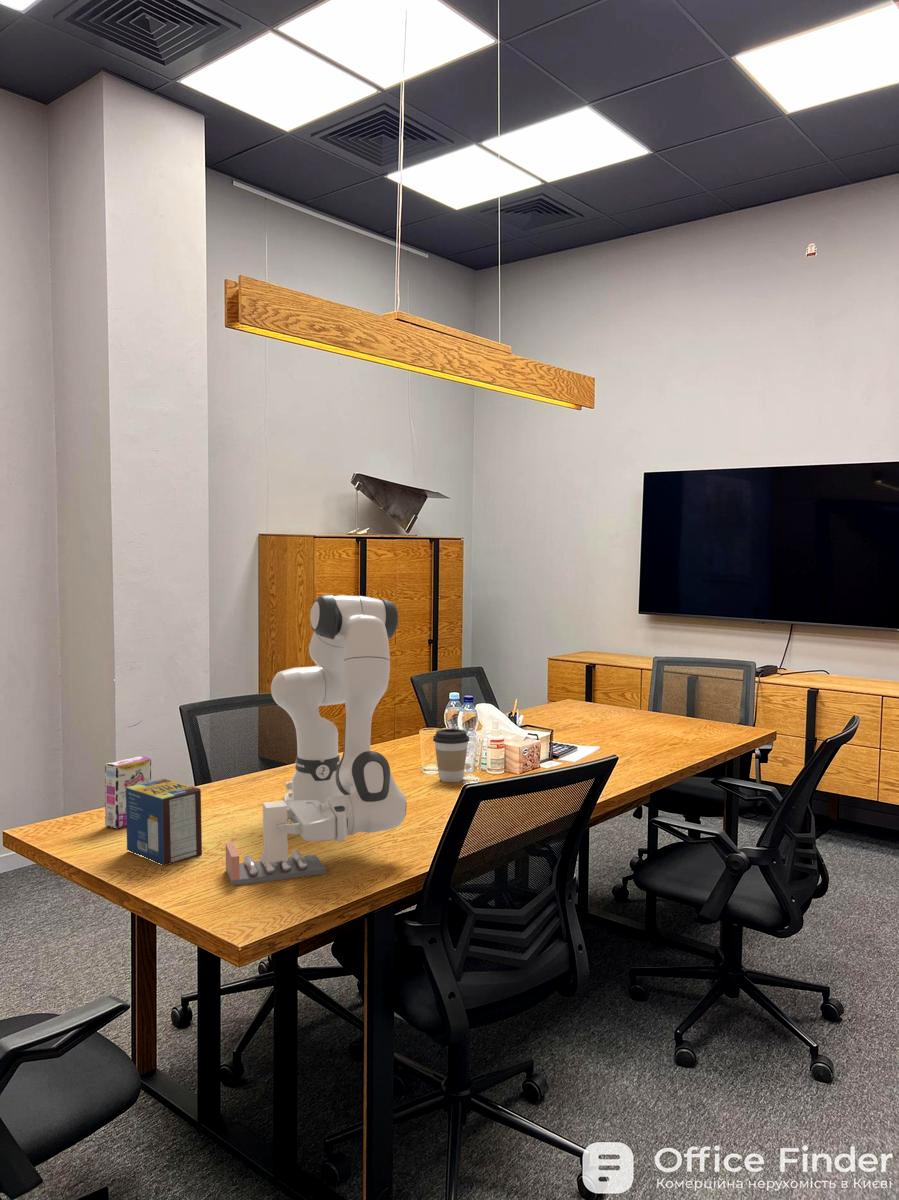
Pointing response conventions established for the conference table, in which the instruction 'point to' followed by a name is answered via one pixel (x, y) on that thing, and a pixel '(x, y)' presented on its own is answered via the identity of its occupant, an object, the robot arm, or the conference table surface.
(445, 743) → the coffee cup
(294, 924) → the conference table surface
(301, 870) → the roller track
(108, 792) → the candy bar box
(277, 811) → the wooden block
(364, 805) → the robot arm
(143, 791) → the protein box
